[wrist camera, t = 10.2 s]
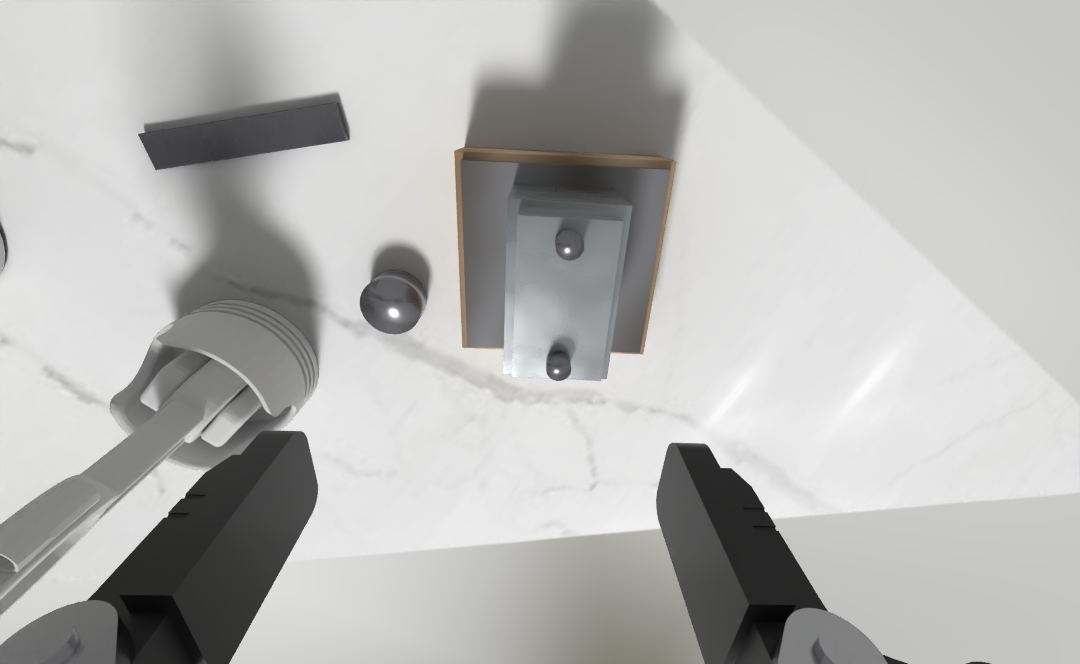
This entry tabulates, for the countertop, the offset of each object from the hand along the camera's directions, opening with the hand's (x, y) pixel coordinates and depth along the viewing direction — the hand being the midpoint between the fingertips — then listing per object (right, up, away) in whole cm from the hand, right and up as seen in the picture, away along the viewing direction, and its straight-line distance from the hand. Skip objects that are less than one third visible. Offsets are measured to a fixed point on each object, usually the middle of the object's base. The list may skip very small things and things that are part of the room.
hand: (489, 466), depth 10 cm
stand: (+2, +9, +19) cm, 21 cm away
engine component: (-21, +1, +23) cm, 31 cm away
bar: (-16, +15, +17) cm, 28 cm away
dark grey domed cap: (-9, +6, +21) cm, 23 cm away
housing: (+2, +7, +16) cm, 17 cm away
